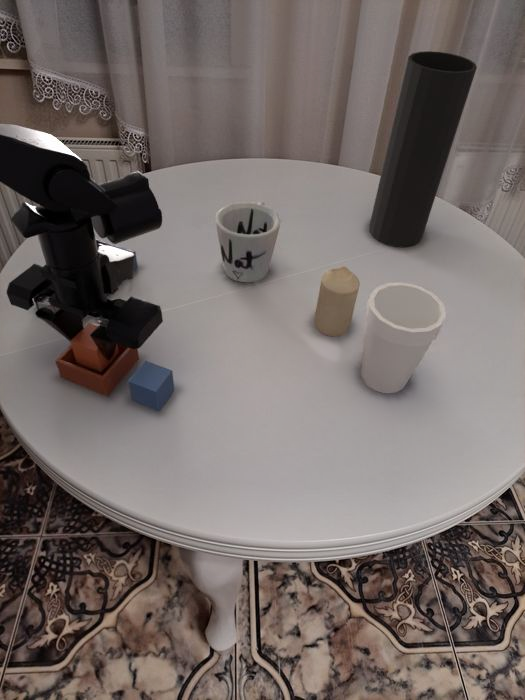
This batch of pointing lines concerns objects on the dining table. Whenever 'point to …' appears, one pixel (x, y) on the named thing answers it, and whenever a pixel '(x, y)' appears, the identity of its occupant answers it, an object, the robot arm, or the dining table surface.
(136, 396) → the slate block
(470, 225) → the dining table surface
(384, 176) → the vase
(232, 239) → the mug
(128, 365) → the terracotta bin
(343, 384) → the dining table surface
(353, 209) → the dining table surface
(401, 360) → the foam cup
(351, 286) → the candle
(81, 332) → the terracotta block
